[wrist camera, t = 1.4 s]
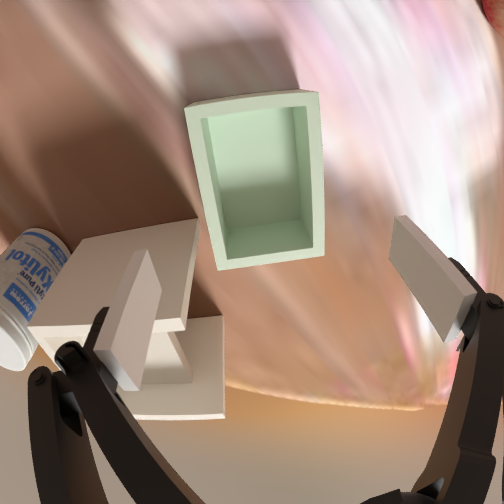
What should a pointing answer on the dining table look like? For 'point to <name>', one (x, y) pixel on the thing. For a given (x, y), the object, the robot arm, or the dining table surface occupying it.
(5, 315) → the supplement tub
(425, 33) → the dining table surface
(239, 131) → the tray
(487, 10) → the fruit
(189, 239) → the box
